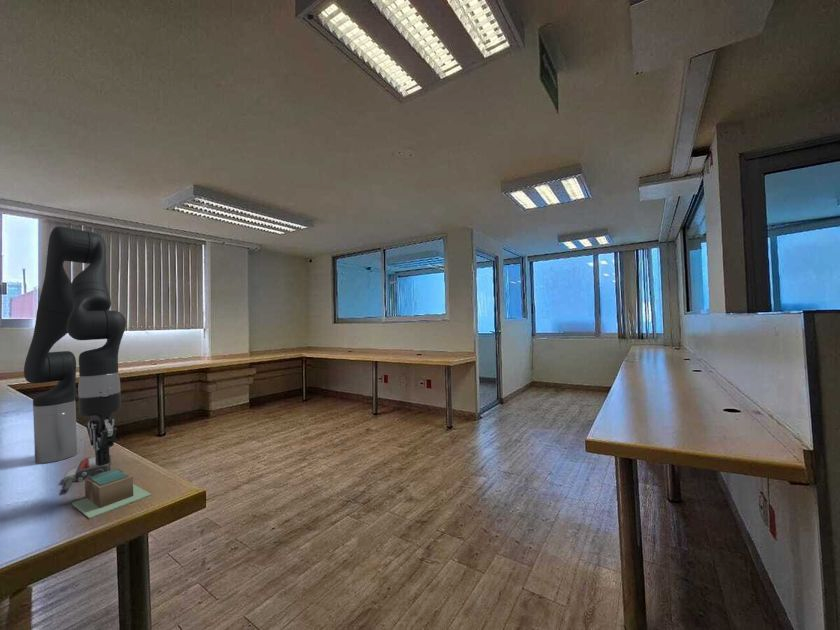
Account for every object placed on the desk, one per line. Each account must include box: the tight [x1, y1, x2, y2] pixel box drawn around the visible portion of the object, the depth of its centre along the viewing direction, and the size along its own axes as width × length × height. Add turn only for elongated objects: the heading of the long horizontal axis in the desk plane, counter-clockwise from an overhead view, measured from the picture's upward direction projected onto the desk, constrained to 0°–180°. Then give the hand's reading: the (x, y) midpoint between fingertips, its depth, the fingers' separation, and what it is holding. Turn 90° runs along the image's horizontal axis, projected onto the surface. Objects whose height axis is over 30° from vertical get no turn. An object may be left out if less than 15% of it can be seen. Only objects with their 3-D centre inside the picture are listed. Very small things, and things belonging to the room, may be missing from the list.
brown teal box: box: [84, 468, 134, 508], centre depth 83 cm, size 5×6×10 cm
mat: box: [71, 483, 152, 519], centre depth 82 cm, size 12×11×1 cm
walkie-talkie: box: [62, 454, 112, 492], centre depth 95 cm, size 9×4×20 cm
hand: (102, 464), depth 85 cm, fingers closed
